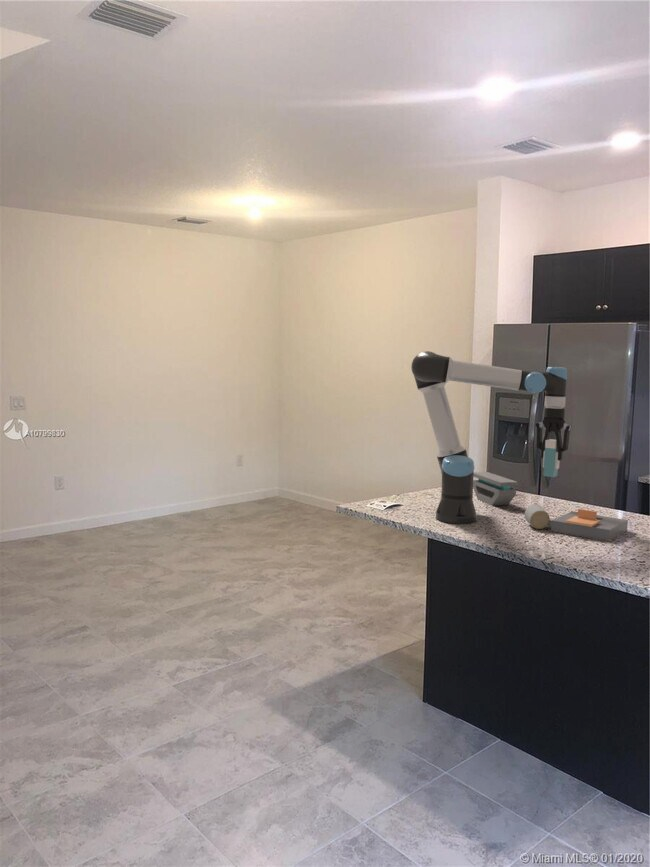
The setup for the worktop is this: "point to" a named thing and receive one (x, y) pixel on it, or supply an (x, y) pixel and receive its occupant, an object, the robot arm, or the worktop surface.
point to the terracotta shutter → (585, 518)
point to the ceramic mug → (537, 517)
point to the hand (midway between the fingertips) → (550, 467)
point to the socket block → (600, 531)
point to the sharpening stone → (493, 488)
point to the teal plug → (550, 458)
